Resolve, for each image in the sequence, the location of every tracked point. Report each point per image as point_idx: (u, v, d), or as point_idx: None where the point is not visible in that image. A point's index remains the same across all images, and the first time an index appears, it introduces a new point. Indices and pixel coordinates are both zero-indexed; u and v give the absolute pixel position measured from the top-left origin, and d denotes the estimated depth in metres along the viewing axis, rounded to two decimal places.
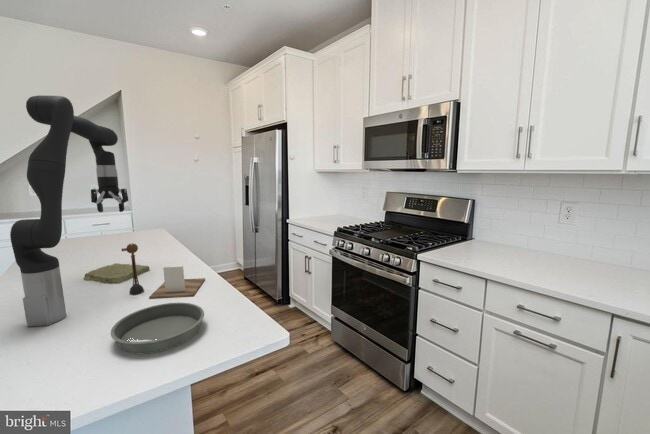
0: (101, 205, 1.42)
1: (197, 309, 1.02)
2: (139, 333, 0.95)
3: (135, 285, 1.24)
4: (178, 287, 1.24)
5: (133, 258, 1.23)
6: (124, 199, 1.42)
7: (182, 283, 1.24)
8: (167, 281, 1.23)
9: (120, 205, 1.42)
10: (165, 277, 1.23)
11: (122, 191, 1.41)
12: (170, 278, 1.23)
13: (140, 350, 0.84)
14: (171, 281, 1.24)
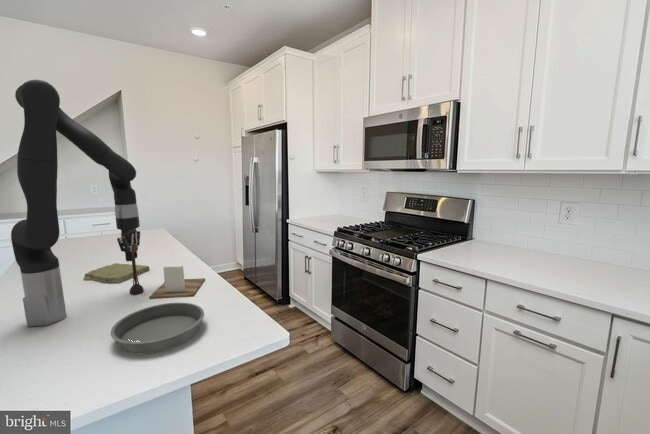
0: None
1: (197, 309, 1.02)
2: (139, 333, 0.95)
3: (135, 285, 1.24)
4: (178, 287, 1.24)
5: (133, 258, 1.23)
6: (138, 242, 1.27)
7: (182, 283, 1.24)
8: (167, 281, 1.23)
9: None
10: (165, 277, 1.23)
11: (139, 234, 1.28)
12: (170, 278, 1.23)
13: (140, 350, 0.84)
14: (171, 281, 1.24)
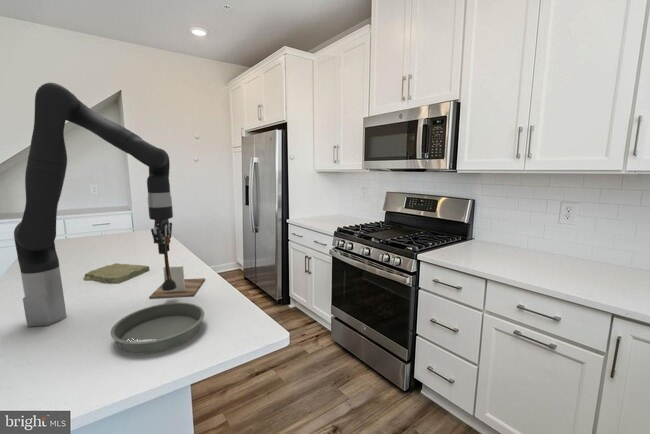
0: None
1: (197, 309, 1.02)
2: (139, 333, 0.95)
3: (167, 280, 1.16)
4: (178, 287, 1.24)
5: None
6: (170, 234, 1.18)
7: (182, 283, 1.24)
8: None
9: None
10: None
11: (171, 225, 1.19)
12: None
13: (140, 350, 0.84)
14: None
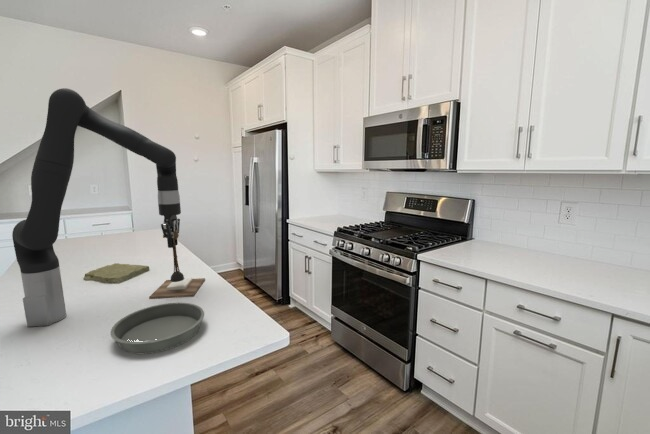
0: None
1: (197, 309, 1.02)
2: (139, 333, 0.95)
3: (176, 272, 1.24)
4: (181, 285, 1.27)
5: (174, 245, 1.23)
6: (178, 230, 1.27)
7: (186, 283, 1.29)
8: (173, 283, 1.29)
9: None
10: (173, 282, 1.31)
11: (179, 221, 1.28)
12: (177, 282, 1.31)
13: (140, 350, 0.84)
14: (176, 283, 1.30)
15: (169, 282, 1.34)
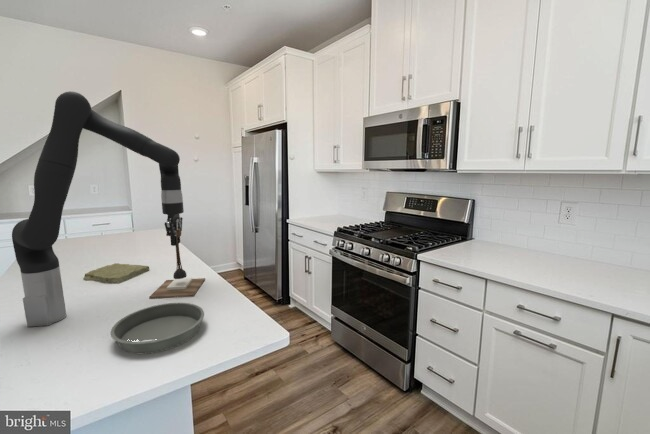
0: None
1: (197, 309, 1.02)
2: (139, 333, 0.95)
3: (179, 270, 1.27)
4: (181, 285, 1.27)
5: (177, 243, 1.26)
6: (181, 228, 1.30)
7: (186, 283, 1.29)
8: (173, 283, 1.29)
9: None
10: (173, 282, 1.31)
11: (181, 220, 1.31)
12: (177, 282, 1.31)
13: (140, 350, 0.84)
14: (176, 283, 1.30)
15: (169, 282, 1.34)
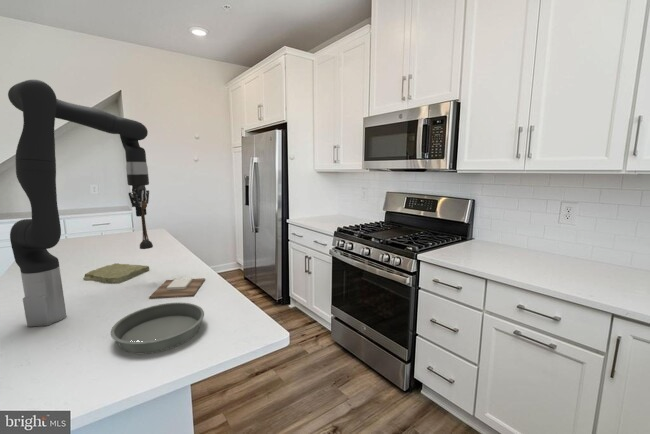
0: None
1: (197, 309, 1.02)
2: (139, 333, 0.95)
3: (144, 240, 1.31)
4: (181, 285, 1.27)
5: None
6: (147, 201, 1.34)
7: (186, 283, 1.29)
8: (173, 283, 1.29)
9: None
10: (173, 282, 1.31)
11: (148, 192, 1.35)
12: (177, 282, 1.31)
13: (140, 350, 0.84)
14: (176, 283, 1.30)
15: (169, 282, 1.34)
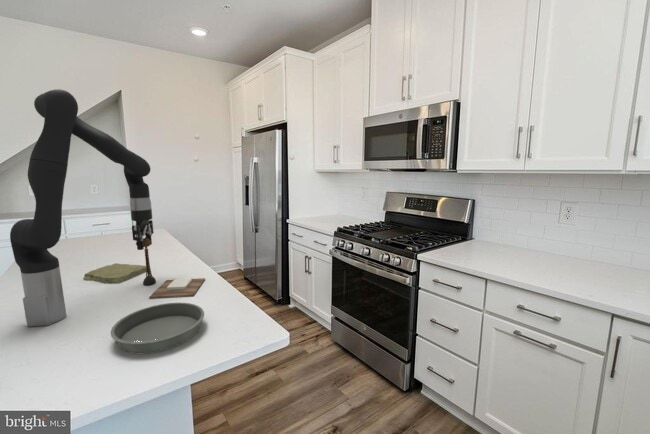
0: None
1: (197, 309, 1.02)
2: (139, 333, 0.95)
3: (148, 277, 1.34)
4: (181, 285, 1.27)
5: (146, 252, 1.32)
6: (152, 231, 1.38)
7: (186, 283, 1.29)
8: (173, 283, 1.29)
9: None
10: (173, 282, 1.31)
11: (152, 222, 1.38)
12: (177, 282, 1.31)
13: (140, 350, 0.84)
14: (176, 283, 1.30)
15: (169, 282, 1.34)
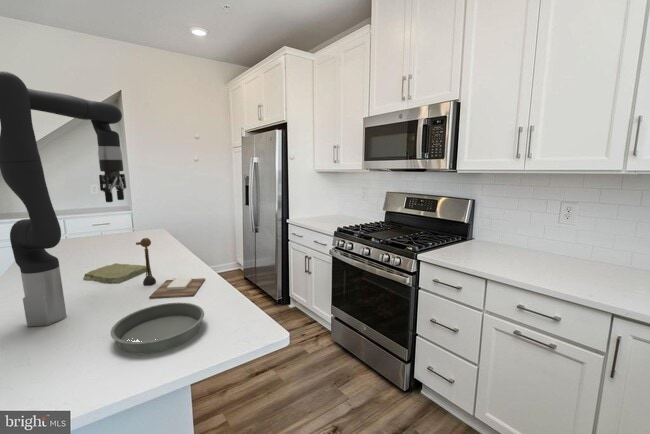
0: None
1: (197, 309, 1.02)
2: (139, 333, 0.95)
3: (148, 277, 1.34)
4: (181, 285, 1.27)
5: (146, 252, 1.32)
6: (125, 185, 1.30)
7: (186, 283, 1.29)
8: (173, 283, 1.29)
9: (123, 192, 1.28)
10: (173, 282, 1.31)
11: (124, 176, 1.29)
12: (177, 282, 1.31)
13: (140, 350, 0.84)
14: (176, 283, 1.30)
15: (169, 282, 1.34)
